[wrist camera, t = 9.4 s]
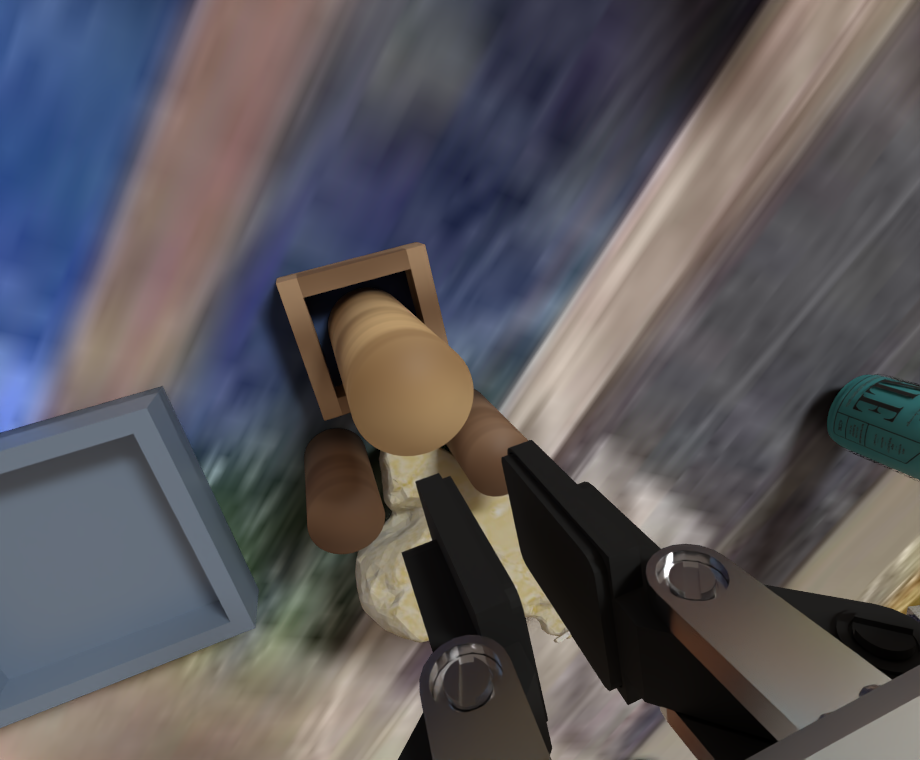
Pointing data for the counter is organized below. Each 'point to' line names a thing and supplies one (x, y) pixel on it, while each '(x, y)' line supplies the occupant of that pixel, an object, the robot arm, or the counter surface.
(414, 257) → the dowel socket
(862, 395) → the beverage bottle
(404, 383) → the dowel
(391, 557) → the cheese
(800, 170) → the counter surface
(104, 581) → the tray
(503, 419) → the peg
